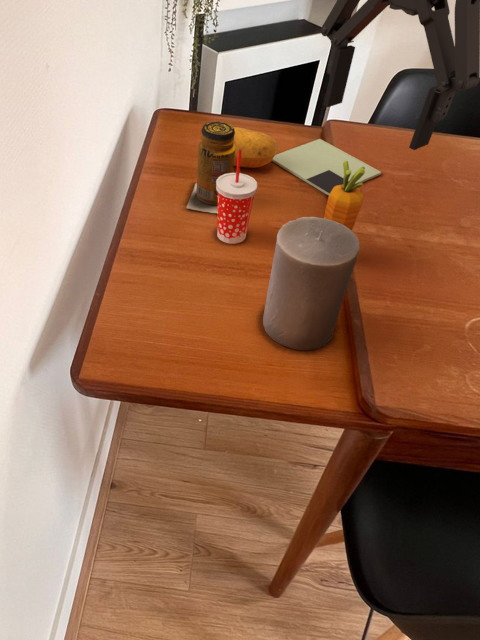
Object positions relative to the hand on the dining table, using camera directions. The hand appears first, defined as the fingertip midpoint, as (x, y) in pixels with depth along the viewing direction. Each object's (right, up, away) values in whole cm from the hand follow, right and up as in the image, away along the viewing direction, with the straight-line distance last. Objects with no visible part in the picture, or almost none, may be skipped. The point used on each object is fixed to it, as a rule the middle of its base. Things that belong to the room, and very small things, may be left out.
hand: (373, 124), depth 65 cm
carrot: (-1, -13, +17) cm, 21 cm away
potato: (-14, +9, +35) cm, 38 cm away
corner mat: (+2, +8, +35) cm, 36 cm away
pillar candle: (-8, -24, +6) cm, 27 cm away
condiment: (-19, -1, +26) cm, 32 cm away
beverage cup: (-16, -9, +19) cm, 27 cm away
